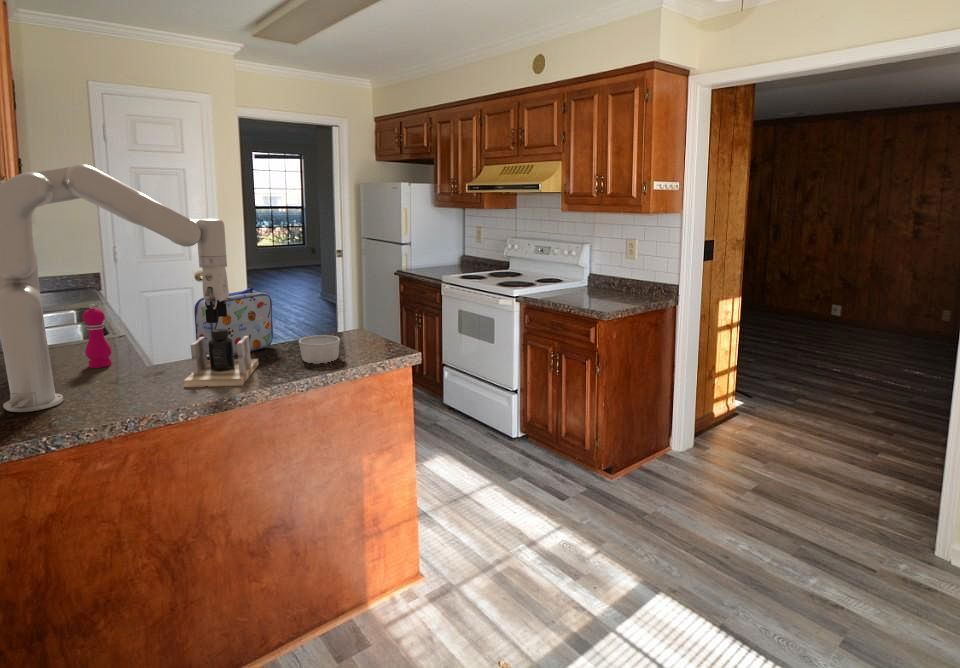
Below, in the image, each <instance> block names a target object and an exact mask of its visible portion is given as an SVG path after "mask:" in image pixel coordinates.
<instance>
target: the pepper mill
mask: <svg viewBox="0 0 960 668" xmlns="http://www.w3.org/2000/svg"><path fill="white" fill-rule="evenodd" d="M88 308H89V309H86V310H85V311H84V312H83V313H82V321H83V322H84V323H86V324H85V330H87V332H88V341H87V344H86V346H85V357H86V358H87V359H89V360H88V367H89V368H90V369H99V368H100V369H101V368H106V367H107V368H108V367H110V366H111V365H112V363H113V362H112V359H111V358H110V356H111V355H112V353H113V352H112V348H111V346H110V344H109V343H108V341H107V339H106V338H105V335H104V328H105V326H104V325H105V323H104V320H106V319H105V318H106V315H105V312H104V311H102V310H101V309H99V308H96V304H94V303H91V304H89V306H88Z"/></svg>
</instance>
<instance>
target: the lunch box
mask: <svg viewBox="0 0 960 668" xmlns="http://www.w3.org/2000/svg"><path fill="white" fill-rule="evenodd" d="M272 300H273V299H272V297H271V295H270V294H268V293H266V292H259V291H256V290H254V287H247V288H246V289H244V290H241V291H236V292H229V296H228V298H226V307H227V316H226V317H218V323H207V322H206V311H205V300H204V297H201V298H200V299H198V300H197V302H195V305H194V312H193V313H194V326H195V341H196V340H197V339H199V338H200V337H205V343H206V354H207V356H209V345H208V343H209V341H210V340H211V339H212V337H211V330H214V329H228V334H229V336H228V337H229V338H230V339H232V342H233V352H234V357H235V356H238V351H237V343H238V342H239V341H240V340H241V339H242V338H243V337H244V336H249V344H250V353H251V352H254V351H258V350H262V349H265V348H266V347H265V346H268V347H269V346H271V345H272V344H273V343H272V342H273V339H274V326H273V325H274V324H273V322H274V321H273V301H272ZM213 304H214V302H213ZM261 347H262V348H261ZM255 348H256V349H255Z"/></svg>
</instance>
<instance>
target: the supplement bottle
mask: <svg viewBox="0 0 960 668" xmlns="http://www.w3.org/2000/svg"><path fill="white" fill-rule="evenodd" d="M228 336H229V334H228V329H214V330H211V337H212V339H211V340H210V341H209V343H208V345H209V355H208V356H209V360H210V366H211V369H212V370H213V371H227V370H231V369H233V368H234V367H235V363H234V359H235V356H234V352H233V342H232V339H230V338H229V337H228Z"/></svg>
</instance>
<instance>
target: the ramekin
mask: <svg viewBox="0 0 960 668" xmlns="http://www.w3.org/2000/svg"><path fill="white" fill-rule="evenodd" d="M340 343H341V339H340V338H339V336H335V335H329V334H325V335H324V334H320V335H316V334H315V335H310V336H305V337H301V338H300V339H299V340H298V346H299V350H300V356H301V359H302V360H303V361H304V363H306V362H307V363H306V364H310V363H313V364H314V365H321V364H320V363H324V364H328V363H327V362H330V363H332V362H331V361H333V362H335V361H337V359H338V358H339V355H340V353H339V352H340ZM334 360H335V361H334ZM313 364H312V365H313Z"/></svg>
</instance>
